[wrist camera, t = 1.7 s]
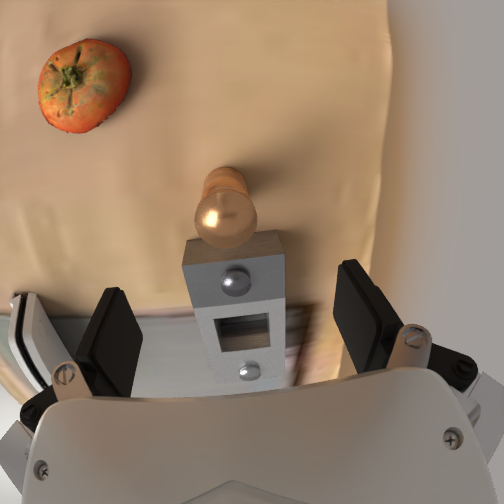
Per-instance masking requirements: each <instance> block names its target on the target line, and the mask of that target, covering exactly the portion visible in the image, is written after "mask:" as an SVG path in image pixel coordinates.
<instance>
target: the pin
mask: <svg viewBox="0 0 504 504" xmlns="http://www.w3.org/2000/svg"><path fill="white" fill-rule="evenodd" d="M256 226H257V214H256V210H255V207H254V205H253V203H252V201H251V200H250V199H249V195H248V191H247V188H246V184H245V180H244V178H243V176H242V175H241V174H240V173H239V172H238V171H237V170H235V169H233V168H229V167H221V168H217V169H215V170H213V171H212V172H211V173H210V174H209V175H208V176H207V178H206V180H205V183H204V188H203V193H202V199H201V201H200V203H199V204H198V206H197V209H196V214H195V227H196V230H197V232H198V234H199V236H200V237H201V238H202V239H203V240H204V241H205V242H206V243H208V244H210V245H212V246H214V247H218V248H234V247H237V246H239V245H241V244H243V243H245V242H246V241H247V240H248V239H249V238H250V237H251V236H252V235H253V233H254V231H255V229H256Z"/></svg>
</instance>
